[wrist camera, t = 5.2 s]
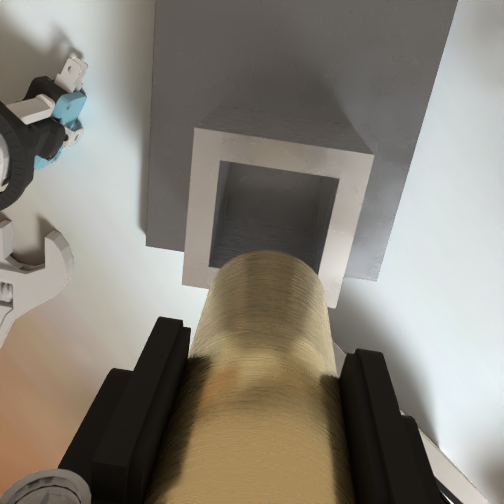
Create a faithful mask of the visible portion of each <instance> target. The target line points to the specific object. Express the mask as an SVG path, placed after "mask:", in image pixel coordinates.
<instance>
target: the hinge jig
mask: <svg viewBox="0 0 504 504" xmlns="http://www.w3.org/2000/svg"><path fill="white" fill-rule="evenodd" d="M457 2H458V0H156V4H155V28H154V53H153V78H152V103H151V128H150V153H149V178H148V203H147V228H146V246H149V247H156V248H162V249H169V250H175V251H182V252H184V264H183V276H182V285H186V286H193V287H199V288H206V289H210V286H211V283H212V281H213V279H214V277H215V275H216V274H217V272H218V271H219V270H220V269H221V268H222V267H223V266H224V265H225V264H226V263H227V262H229V261H230V260H232V259H233V258H235V257H237V256H239V255H242V254H244V253H248V252H252V251H259V250H272V251H279V252H283V253H286V254H289V255H292V256H294V257H296V258H298V259H300V260H301V261H303V262H304V263H306V264H307V265H308V266H309V267H310V268H311V269H312V270H313V271H314V272H315V273H316V274H317V276H318V277H319V279H320V281H321V283H322V285H323V288H324V291H325V296H326V302H327V307H329V308H336V305H337V301H338V297H339V293H340V290H341V286H342V282H343V278H344V277H351V278H357V279H364V280H370V281H377V278H378V274H379V271H380V267H381V264H382V260H383V257H384V254H385V250H386V247H387V243H388V240H389V236H390V233H391V229H392V226H393V223H394V219H395V216H396V212H397V209H398V205H399V202H400V198H401V195H402V192H403V188H404V185H405V181H406V178H407V174H408V171H409V167H410V164H411V161H412V157H413V154H414V150H415V147H416V143H417V140H418V137H419V133H420V130H421V126H422V123H423V119H424V116H425V112H426V109H427V106H428V102H429V99H430V95H431V92H432V88H433V85H434V81H435V78H436V75H437V71H438V68H439V64H440V61H441V57H442V54H443V50H444V47H445V44H446V40H447V37H448V33H449V30H450V26H451V23H452V19H453V16H454V13H455V9H456V6H457Z"/></svg>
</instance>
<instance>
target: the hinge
mask: <svg viewBox="0 0 504 504" xmlns="http://www.w3.org/2000/svg"><path fill="white" fill-rule="evenodd" d="M332 343H333V350H334V357H335V364H336V371H337V378H338V381H339V377H340V374H341V370H342V367H343V364H344V360H345V357H346V355H347V354H346V353H345V352H344V351H343V350H342V349H341V348H340V347H339V346H338V345H337V344H336V343H335V342H334V341H333V340H332ZM399 409H400V408H399ZM400 412H401V415H405V414H404V413H403V412H402V410H401V409H400ZM418 429H419V428H418ZM419 432H420V435H421V438H422V441H423V444H424V447H425V450H426V453H427V456H428V459H429V462H430V465H431V468H432V471H433V474H434V477H435V480H436V483H437V486H438V489H439V492H440V495H441V498H442V501H443V504H451V503H450V502H449V501H448V500H447V498H446V497H448V498H449V499H450V500H451V501H452V502H453V503H454V504H487V503H488V500H487V499H486V498H485V497H484V496H483V495H482V494H481V493H480V492H479V490H478V489H477V488H476V487H475V486H474V485H473V484H472V483H471V482H470V481H469V480H468V479H467V478H466V477H465V476H464V475H463V474H462V472H461V471H460V470H459V469H458V468H457V467H456V466H455V465H454V464H453V463H452V462H451V461H450V460H449V459H448V458H447V457H446V456H445V454H444V453H443V452H442V451H441V450H440V449H439V448H438V447H437V446H436V445H435V444H434V443H433V442H432V441H431V440H430V439H429V438H428V437H427V436H426V435H425V434H424V433H423V432H422V431H421V430H420V429H419ZM443 494H444V495H445V496H446V497H445V496H444V495H443Z"/></svg>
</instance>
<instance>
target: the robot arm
mask: <svg viewBox="0 0 504 504" xmlns="http://www.w3.org/2000/svg"><path fill="white" fill-rule="evenodd" d="M190 334H191V328H188V327H183V320H178V319H172V318H166V317H158V319H157V321H156V323H155V325H154V327H153V330H152V332H151V334H150V336H149V338H148V340H147V342H146V345H145V347H144V349H143V351H142V353H141V355H140V357H139V360H138V362H137V364H136V366H135V368H134V370H133V371H129V370H123V369H117V368H113V369H111V370H110V372H109V373H108V375H107V377H106V379H105V381H104V382H103V384H102V386H101V388H100V390H99V392H98V394H97V395H96V397H95V399H94V401H93V403H92V405H91V407H90V408H89V410H88V412H87V414H86V416H85V418H84V420H83V421H82V423H81V425H80V427H79V429H78V431H77V433H76V434H75V436H74V438H73V440H72V442H71V444H70V446H69V447H68V449H67V451H66V453H65V455H64V457H63V459H62V460H61V462H60V464H59V466H58V468H56V469H46V470H41V471H38V472H35V473H32V474H29V475H27V476H25V477H24V478H22V479H20V480H19V481H17V482H15V483H14V484H13V485H12V486H11V487H10V488H9V489H8V490H7V491H5V492H4V493H3V495H2V496H1V498H0V504H142V503H143V500H144V497H145V494H146V490H147V487H148V484H149V481H150V478H151V474H152V471H153V468H154V465H155V462H156V459H157V455H158V452H159V449H160V446H161V443H162V439H163V436H164V433H165V430H166V427H167V424H168V420H169V417H170V414H171V411H172V408H173V404H174V401H175V398H176V395H177V392H178V389H179V385H180V382H181V379H182V376H183V373H184V369H185V366H186V363H187V360H188V353H189V344H190ZM338 385H339V391H340V398H341V405H342V412H343V419H344V426H345V432H346V439H347V446H348V453H349V460H350V467H351V474H352V480H353V487H354V494H355V501H356V504H443V501H442V498H441V495H440V492H439V489H438V486H437V483H436V480H435V477H434V474H433V471H432V468H431V465H430V462H429V459H428V456H427V453H426V450H425V447H424V444H423V441H422V438H421V435H420V432H419V429H418V426H417V424H416V422H415V420H414V418H412V417H411V416H406V415H401V412H400V409H399V406H398V402H397V399H396V396H395V392H394V389H393V386H392V382H391V379H390V376H389V372H388V369H387V366H386V362H385V359H384V356H383V354H382V353H381V352H376V351H370V350H364V349H356V351H355V353H354V354H349V353H348V354H347V355H346V357H345V360H344V364H343V367H342V370H341V374H340V377H339V381H338Z"/></svg>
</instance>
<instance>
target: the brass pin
mask: <svg viewBox="0 0 504 504" xmlns="http://www.w3.org/2000/svg"><path fill="white" fill-rule="evenodd" d="M142 504H356V501H355V494H354V487H353V480H352V474H351V467H350V460H349V453H348V446H347V439H346V432H345V426H344V419H343V412H342V405H341V398H340V391H339V385H338V378H337V371H336V364H335V357H334V350H333V343H332V337H331V330H330V323H329V316H328V309H327V302H326V296H325V291H324V288H323V285H322V283H321V281H320V279H319V277H318V276H317V274H316V273H315V272H314V271H313V270H312V269H311V268H310V267H309V266H308V265H307V264H306V263H304V262H303V261H301V260H300V259H298V258H296V257H294V256H292V255H289V254H286V253H283V252H279V251H272V250H259V251H252V252H248V253H244V254H242V255H239V256H237V257H235V258H233V259H232V260H230V261H229V262H227V263H226V264H225V265H224V266H223V267H222V268H221V269H220V270H219V271H218V272H217V274H216V275H215V277H214V279H213V281H212V283H211V286H210V289H209V292H208V295H207V298H206V301H205V305H204V308H203V311H202V314H201V317H200V320H199V323H198V327H197V330H196V333H195V336H194V339H193V342H192V346H191V349H190V352H189V355H188V360H187V363H186V366H185V369H184V373H183V376H182V379H181V382H180V385H179V389H178V392H177V395H176V398H175V401H174V404H173V408H172V411H171V414H170V417H169V420H168V424H167V427H166V430H165V433H164V436H163V439H162V443H161V446H160V449H159V452H158V455H157V459H156V462H155V465H154V468H153V471H152V474H151V478H150V481H149V484H148V487H147V490H146V494H145V497H144V500H143V503H142Z"/></svg>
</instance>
